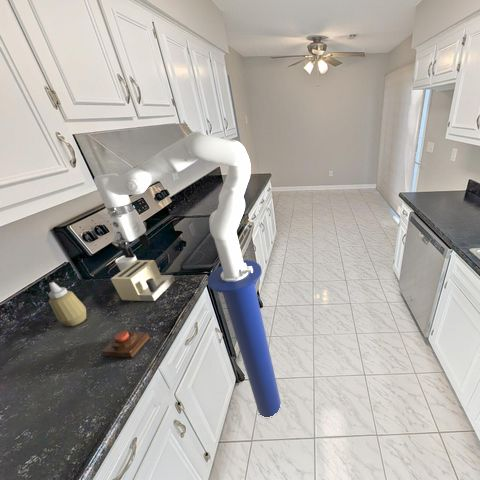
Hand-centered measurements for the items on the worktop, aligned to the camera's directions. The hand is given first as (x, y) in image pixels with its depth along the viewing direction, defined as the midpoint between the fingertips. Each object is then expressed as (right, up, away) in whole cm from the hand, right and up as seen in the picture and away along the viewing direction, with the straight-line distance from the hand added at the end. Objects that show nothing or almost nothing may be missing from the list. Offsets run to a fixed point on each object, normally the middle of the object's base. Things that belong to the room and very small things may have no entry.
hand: (138, 250), depth 99 cm
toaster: (-4, -18, +13) cm, 22 cm away
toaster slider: (+2, -17, +7) cm, 18 cm away
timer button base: (+7, -31, -15) cm, 35 cm away
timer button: (+7, -28, -16) cm, 33 cm away
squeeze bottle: (-22, -27, -2) cm, 35 cm away
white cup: (-19, -13, +23) cm, 33 cm away
